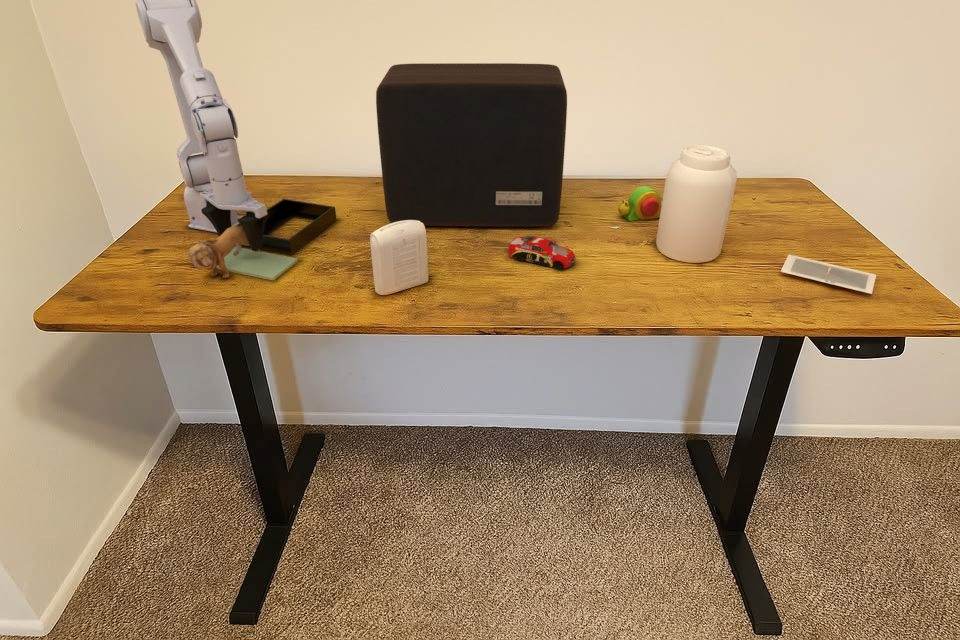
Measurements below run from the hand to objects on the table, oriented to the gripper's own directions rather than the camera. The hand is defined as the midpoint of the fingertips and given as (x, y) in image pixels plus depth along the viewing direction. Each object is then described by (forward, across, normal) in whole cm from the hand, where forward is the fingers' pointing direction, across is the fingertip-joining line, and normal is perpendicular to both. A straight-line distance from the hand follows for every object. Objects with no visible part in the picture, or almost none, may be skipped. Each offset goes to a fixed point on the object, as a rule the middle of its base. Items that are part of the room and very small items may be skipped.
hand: (242, 244), depth 123 cm
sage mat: (+4, 0, 0) cm, 4 cm away
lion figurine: (+3, 0, +3) cm, 5 cm away
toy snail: (+4, -64, -59) cm, 87 cm away
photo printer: (+4, -31, -7) cm, 32 cm away
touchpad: (+4, -99, -46) cm, 109 cm away
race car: (+4, -50, -28) cm, 57 cm away
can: (+4, -73, -45) cm, 86 cm away
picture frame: (+4, +2, -14) cm, 15 cm away
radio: (+4, -28, -41) cm, 49 cm away
